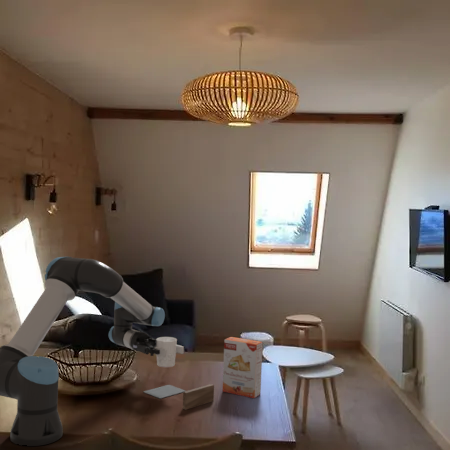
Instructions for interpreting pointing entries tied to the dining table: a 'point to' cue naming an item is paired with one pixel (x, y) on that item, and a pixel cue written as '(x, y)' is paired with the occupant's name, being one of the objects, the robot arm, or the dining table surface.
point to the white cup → (170, 346)
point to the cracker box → (242, 367)
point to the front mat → (164, 391)
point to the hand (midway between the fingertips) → (174, 352)
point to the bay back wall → (198, 396)
